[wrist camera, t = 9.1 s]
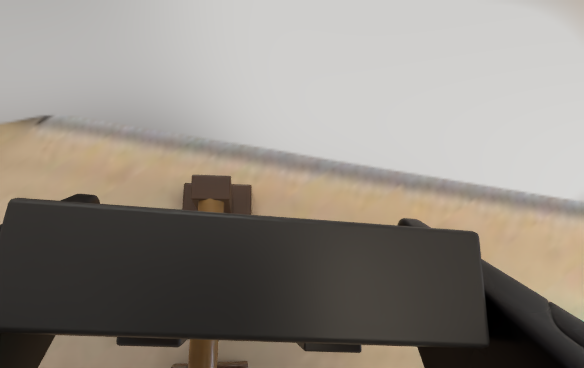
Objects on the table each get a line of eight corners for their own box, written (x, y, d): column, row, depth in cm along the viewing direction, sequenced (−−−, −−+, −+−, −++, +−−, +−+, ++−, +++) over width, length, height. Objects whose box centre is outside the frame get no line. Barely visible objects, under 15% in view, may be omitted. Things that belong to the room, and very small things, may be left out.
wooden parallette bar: (246, 422, 19) (248, 473, 14) (168, 427, 19) (141, 482, 13) (251, 187, 23) (254, 158, 18) (186, 186, 22) (169, 155, 17)
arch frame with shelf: (147, 331, 14) (-58, 424, 4) (162, 232, 15) (25, 130, 5) (331, 337, 15) (501, 426, 5) (333, 243, 16) (475, 172, 6)
